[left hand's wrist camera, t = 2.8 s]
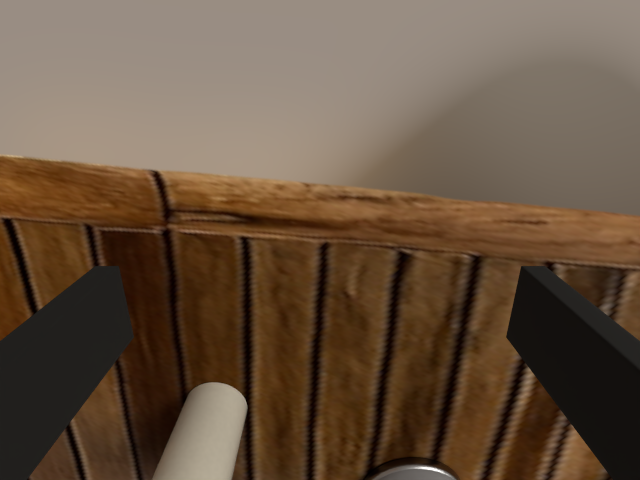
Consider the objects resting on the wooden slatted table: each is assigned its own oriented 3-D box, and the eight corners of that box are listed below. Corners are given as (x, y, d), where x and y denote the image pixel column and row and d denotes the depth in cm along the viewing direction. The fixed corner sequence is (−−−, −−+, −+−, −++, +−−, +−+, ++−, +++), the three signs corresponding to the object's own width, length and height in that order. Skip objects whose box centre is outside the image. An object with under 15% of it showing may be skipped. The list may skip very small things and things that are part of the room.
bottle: (196, 433, 52) (134, 608, 35) (177, 387, 50) (98, 552, 32) (254, 424, 52) (220, 598, 34) (238, 377, 49) (191, 540, 31)
